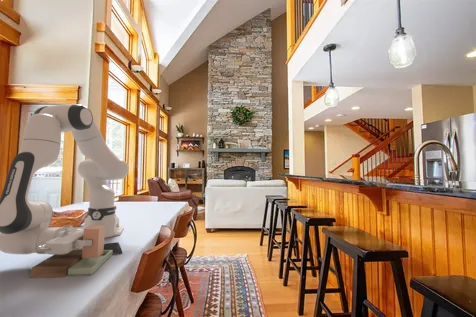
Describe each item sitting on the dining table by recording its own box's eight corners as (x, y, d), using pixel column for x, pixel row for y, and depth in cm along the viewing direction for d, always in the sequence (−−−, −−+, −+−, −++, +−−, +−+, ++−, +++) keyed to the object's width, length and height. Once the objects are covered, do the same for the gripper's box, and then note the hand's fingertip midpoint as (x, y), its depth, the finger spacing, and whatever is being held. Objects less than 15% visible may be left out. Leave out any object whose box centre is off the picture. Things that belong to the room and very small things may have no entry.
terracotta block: (88, 253, 87) (90, 225, 88) (103, 253, 88) (104, 225, 89) (81, 258, 82) (83, 228, 83) (97, 257, 83) (99, 228, 84)
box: (93, 255, 93) (93, 250, 93) (112, 255, 94) (112, 249, 94) (67, 275, 76) (67, 269, 76) (91, 275, 76) (91, 268, 77)
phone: (100, 255, 92) (98, 244, 104) (100, 258, 92) (98, 247, 104) (122, 251, 96) (118, 241, 109) (122, 254, 96) (118, 244, 109)
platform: (65, 255, 92) (66, 247, 93) (93, 255, 94) (93, 247, 94) (30, 277, 74) (30, 268, 74) (65, 276, 75) (66, 266, 75)
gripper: (34, 239, 74) (82, 238, 76) (70, 224, 94) (108, 224, 96) (32, 260, 73) (81, 259, 75) (69, 241, 94) (107, 240, 95)
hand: (96, 239), depth 86 cm, fingers closed on terracotta block, 5 cm apart
